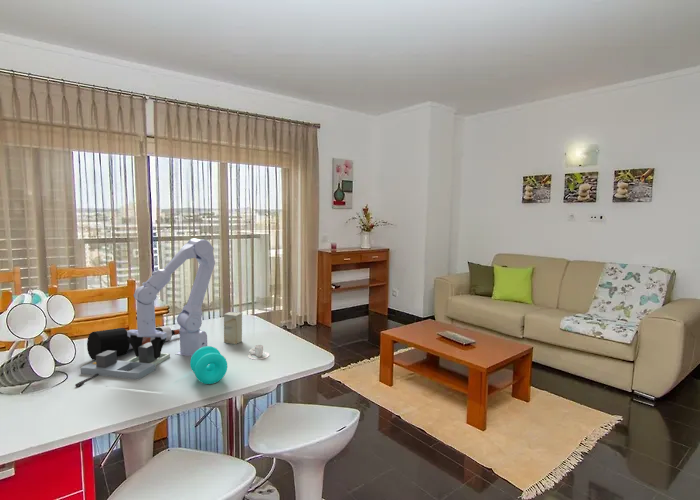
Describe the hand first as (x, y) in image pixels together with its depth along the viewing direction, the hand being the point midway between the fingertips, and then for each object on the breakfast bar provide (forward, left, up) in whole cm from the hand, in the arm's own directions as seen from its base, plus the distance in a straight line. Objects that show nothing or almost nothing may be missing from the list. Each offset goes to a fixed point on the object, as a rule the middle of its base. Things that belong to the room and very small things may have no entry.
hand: (148, 356), depth 144 cm
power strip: (+4, +14, -2) cm, 15 cm away
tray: (0, 0, -2) cm, 2 cm away
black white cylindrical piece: (+13, -12, -2) cm, 18 cm away
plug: (0, 0, -2) cm, 2 cm away
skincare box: (-19, -27, -2) cm, 33 cm away
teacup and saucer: (-36, -18, -3) cm, 40 cm away
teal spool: (-29, +8, -2) cm, 30 cm away
